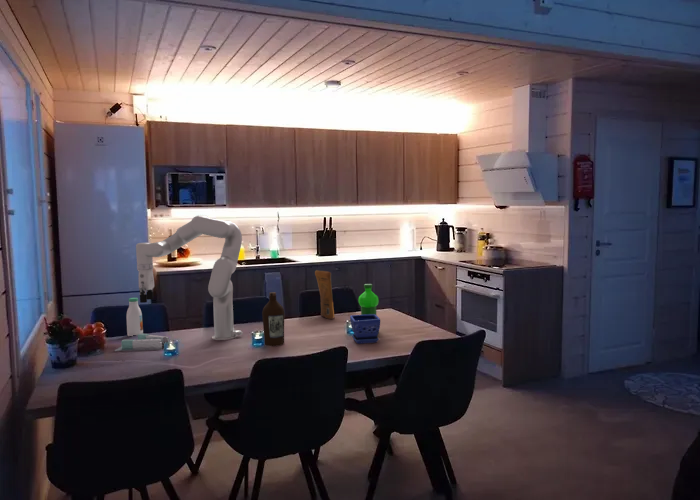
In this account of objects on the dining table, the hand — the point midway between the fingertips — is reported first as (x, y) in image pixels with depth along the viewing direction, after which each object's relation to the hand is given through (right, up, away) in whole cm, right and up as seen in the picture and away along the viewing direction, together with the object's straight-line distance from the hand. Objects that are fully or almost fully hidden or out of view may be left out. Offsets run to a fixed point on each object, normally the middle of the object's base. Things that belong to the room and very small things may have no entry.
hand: (146, 300), depth 278 cm
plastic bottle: (+113, -17, +7) cm, 114 cm away
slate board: (+5, -21, -11) cm, 25 cm away
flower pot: (+110, -19, -12) cm, 112 cm away
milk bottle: (-11, -20, +14) cm, 27 cm away
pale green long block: (+6, -21, -18) cm, 28 cm away
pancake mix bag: (+89, -15, +52) cm, 104 cm away
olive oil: (+66, -20, -13) cm, 70 cm away
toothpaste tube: (+7, -20, -10) cm, 24 cm away
